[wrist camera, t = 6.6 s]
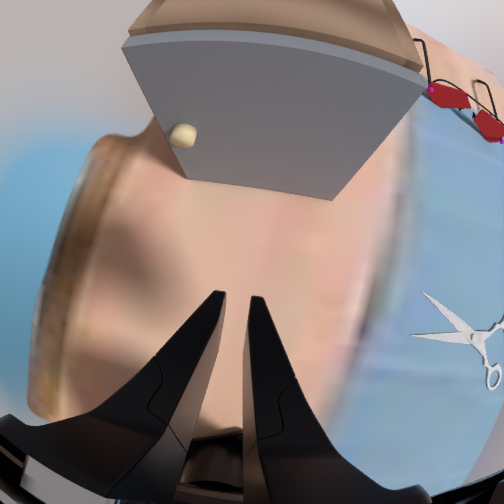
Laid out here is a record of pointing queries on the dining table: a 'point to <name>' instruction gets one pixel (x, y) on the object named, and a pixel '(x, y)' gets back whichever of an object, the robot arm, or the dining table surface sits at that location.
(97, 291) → the dining table surface
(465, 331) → the scissors
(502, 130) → the glasses
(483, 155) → the dining table surface
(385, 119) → the flap
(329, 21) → the walnut box
